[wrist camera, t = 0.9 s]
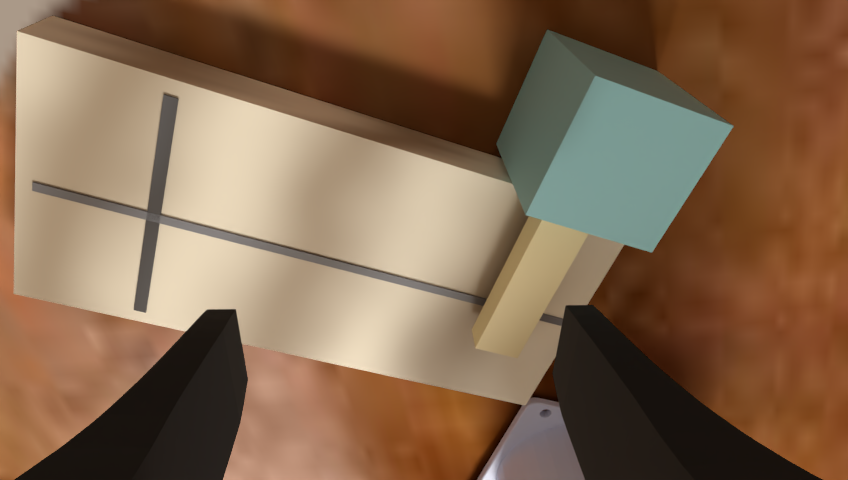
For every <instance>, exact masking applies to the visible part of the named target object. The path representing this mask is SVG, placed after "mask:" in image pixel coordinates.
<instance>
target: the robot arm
mask: <svg viewBox="0 0 848 480" xmlns="http://www.w3.org/2000/svg"><path fill="white" fill-rule="evenodd" d="M553 378H554V383H555V388H556V393H557V397H558V402H555V401H551V400H546V399H542V398H535V397H534V398H530V399H529V401H528V402H527V404H526V405H525V406H524V405H522V407H521V408H520V410H519V412H518V413H517V415H516V416H515V418H514V420H513V421H512V423H511V425H510V426H509V428H508V430H507V431H506V433H505V434H504V436H503V438H502V439H501V441H500V443H499V444H498V446H497V448H496V449H495V451H494V452H493V454H492V456H491V457H490V459H489V461H488V462H487V464H486V466H485V467H484V469H483V470H482V472H481V474H480V475H479V477H478V479H477V480H822V479H820V478H818V477H816V476H815V475H813V474H811V473H809V472H807V471H805V470H804V469H802V468H800V467H798V466H797V465H795V464H793V463H791V462H790V461H788V460H786V459H785V458H783V457H781V456H780V455H778V454H776V453H775V452H773V451H771V450H770V449H768V448H767V447H765V446H763V445H762V444H760V443H758V442H757V441H755V440H754V439H752V438H751V437H749V436H748V435H746V434H744V433H743V432H741V431H740V430H738V429H737V428H736V427H734V426H733V425H731V424H730V423H729V422H727V421H726V420H724V419H723V418H721V417H720V416H719V415H717V414H716V413H714V412H713V411H712V410H710V409H709V408H708V407H706V406H705V405H704V404H702V403H701V402H700V401H698V400H697V399H696V398H695V397H693V396H692V395H691V394H690V393H688V392H687V391H686V390H685V389H684V388H682V387H681V386H680V385H679V384H677V383H676V382H675V381H674V380H673V379H671V378H670V377H669V376H668V375H667V374H666V373H665V372H663V371H662V370H661V369H660V368H659V367H658V366H657V365H655V364H654V363H653V362H652V361H651V360H650V359H649V358H648V357H647V356H646V355H644V354H643V353H642V352H641V351H640V350H639V349H638V348H637V347H636V346H635V345H634V344H633V343H632V342H631V341H630V340H629V339H627V338H626V337H625V336H624V335H623V334H622V333H621V332H620V331H619V330H618V329H617V328H616V327H615V326H614V325H613V324H612V323H611V322H610V321H609V320H608V319H607V318H606V317H605V316H604V315H603V314H602V313H601V312H600V311H599V310H597V309H596V308H595V307H594V306H593V305H566V306H565V311H564V316H563V321H562V327H561V332H560V337H559V342H558V347H557V353H556V358H555V363H554V368H553ZM247 381H248V377H247V372H246V366H245V360H244V354H243V348H242V342H241V336H240V330H239V324H238V319H237V313H236V309H207V310H206V311H205V312H204V313H203V314H202V315H201V316H200V317H199V318H198V319H197V320H196V321H195V322H194V323H193V324H192V325H191V327H190V328H189V329H188V330H187V331H186V332H185V333H184V334H183V335H182V336H181V337H180V339H179V340H178V341H177V342H176V343H175V344H174V345H173V346H172V347H171V348H170V349H169V350H168V351H167V352H166V354H165V355H164V356H163V357H162V358H161V359H160V360H159V361H158V362H157V363H156V364H155V365H154V366H153V367H152V368H151V369H150V370H149V371H148V372H147V373H146V374H145V375H144V376H143V377H142V378H141V379H140V380H139V381H138V382H137V383H136V384H135V385H134V386H133V387H131V388H130V389H129V390H128V391H127V392H126V393H125V394H124V395H123V396H122V397H121V398H120V399H119V400H117V401H116V402H115V403H114V404H113V405H112V406H111V407H110V408H109V409H108V410H107V411H105V412H104V413H103V414H102V415H101V416H100V417H98V418H97V419H96V420H95V421H94V422H93V423H91V424H90V425H89V426H88V427H86V428H85V429H84V430H83V431H81V432H80V433H79V434H77V435H76V436H75V437H74V438H72V439H71V440H70V441H69V442H67V443H66V444H65V445H63V446H62V447H61V448H59V449H58V450H56V451H55V452H54V453H52V454H51V455H49V456H48V457H46V458H45V459H43V460H42V461H41V462H39V463H38V464H36V465H35V466H33V467H32V468H31V469H29V470H28V471H26V472H25V473H23V474H22V475H20V476H19V477H18V478H16V479H15V480H223V477H224V474H225V471H226V467H227V464H228V461H229V458H230V455H231V451H232V448H233V445H234V441H235V438H236V435H237V432H238V428H239V425H240V421H241V416H242V410H243V405H244V399H245V393H246V387H247ZM545 409H547V410H545ZM542 410H545V411H542Z"/></svg>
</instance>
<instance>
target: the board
mask: <svg viewBox="0 0 848 480" xmlns="http://www.w3.org/2000/svg"><path fill="white" fill-rule="evenodd" d="M528 217H529V216H527V215H525V213H524V210H523V208H522V205H521V203H520V201H519V198H518V196H517V193H516V191H515V188H514V186H513V184H512V181H511V179H510V176H509V174H508V172H507V169H506V167H505V164H504V162H503V159H502V158H500V157H496V156H493V155H490V154H487V153H484V152H481V151H478V150H474V149H471V148H468V147H465V146H462V145H459V144H456V143H452V142H449V141H446V140H443V139H440V138H437V137H434V136H430V135H427V134H424V133H421V132H418V131H415V130H411V129H408V128H405V127H402V126H399V125H396V124H393V123H389V122H386V121H383V120H380V119H377V118H374V117H371V116H367V115H364V114H361V113H358V112H355V111H352V110H349V109H345V108H342V107H339V106H336V105H333V104H330V103H327V102H323V101H320V100H317V99H314V98H311V97H308V96H304V95H301V94H298V93H295V92H292V91H289V90H286V89H282V88H279V87H276V86H273V85H270V84H267V83H264V82H260V81H257V80H254V79H251V78H248V77H245V76H242V75H238V74H235V73H232V72H229V71H226V70H223V69H220V68H216V67H213V66H210V65H207V64H204V63H201V62H197V61H194V60H191V59H188V58H185V57H182V56H179V55H175V54H172V53H169V52H166V51H163V50H160V49H157V48H153V47H150V46H147V45H144V44H141V43H138V42H135V41H131V40H128V39H125V38H122V37H119V36H116V35H113V34H109V33H106V32H103V31H100V30H97V29H94V28H90V27H87V26H84V25H81V24H78V23H75V22H72V21H68V20H65V19H62V18H59V17H56V16H50V17H48V18H46V19H44V20H41V21H39V22H37V23H34V24H32V25H30V26H27V27H25V28H23V29H21V30H18V31H17V69H16V152H15V235H14V294H17V295H21V296H26V297H31V298H35V299H40V300H44V301H49V302H53V303H58V304H63V305H67V306H72V307H76V308H81V309H85V310H90V311H95V312H99V313H104V314H108V315H113V316H117V317H122V318H127V319H131V320H136V321H140V322H145V323H149V324H154V325H159V326H163V327H168V328H172V329H177V330H181V331H187V330H188V329H189V328H190V327H191V325H192V324H193V323H194V322H195V321H196V320H197V319H198V318H199V317H200V316H201V315H202V314H203V313H204V312H205V311H206V310H207V309H236V313H237V319H238V324H239V330H240V336H241V342H242V344H245V345H250V346H255V347H259V348H264V349H268V350H273V351H277V352H282V353H287V354H291V355H296V356H300V357H305V358H309V359H314V360H319V361H323V362H328V363H332V364H337V365H342V366H346V367H351V368H355V369H360V370H364V371H369V372H374V373H378V374H383V375H387V376H392V377H396V378H401V379H406V380H410V381H415V382H419V383H424V384H428V385H433V386H438V387H442V388H447V389H451V390H456V391H460V392H465V393H470V394H474V395H479V396H483V397H488V398H492V399H497V400H502V401H506V402H511V403H515V404H520V405H524V406H525V405H526V404H527V402H528V401H529V399H530V397H531V396H532V394H533V392H534V391H535V389H536V388H537V386H538V384H539V383H540V381H541V379H542V378H543V376H544V375H545V373H546V371H547V370H548V368H549V366H550V365H551V363H552V362H553V360H554V358H555V357H556V353H557V347H558V342H559V337H560V332H561V327H562V321H563V316H564V311H565V306H566V305H588V303H589V301H590V300H591V298H592V296H593V295H594V293H595V292H596V290H597V288H598V287H599V285H600V283H601V282H602V280H603V279H604V277H605V275H606V274H607V272H608V270H609V269H610V267H611V266H612V264H613V262H614V261H615V259H616V257H617V256H618V254H619V253H620V251H621V249H622V248H623V246H624V244H621V243H618V242H614V241H611V240H608V239H604V238H601V237H598V236H594V235H591V234H588V236H587V238H586V239H585V241H584V243H583V245H582V246H581V248H580V250H579V252H578V253H577V255H576V257H575V259H574V260H573V262H572V264H571V266H570V267H569V269H568V271H567V273H566V274H565V276H564V278H563V280H562V281H561V283H560V285H559V287H558V288H557V290H556V292H555V294H554V295H553V297H552V299H551V301H550V302H549V304H548V306H547V308H546V309H545V311H544V313H543V315H542V316H541V318H540V320H539V322H538V323H537V325H536V327H535V329H534V330H533V332H532V334H531V336H530V337H529V339H528V341H527V343H526V344H525V346H524V348H523V350H522V351H521V353H520V355H519V356H518V358H514V357H510V356H506V355H501V354H497V353H493V352H489V351H485V350H480V349H476V348H475V344H474V339H473V333H472V328H473V326H474V324H475V322H476V320H477V318H478V316H479V314H480V312H481V310H482V308H483V306H484V304H485V302H486V300H487V298H488V296H489V294H490V292H491V290H492V288H493V286H494V284H495V282H496V280H497V278H498V276H499V274H500V273H501V271H502V269H503V267H504V265H505V263H506V261H507V259H508V257H509V255H510V253H511V251H512V249H513V247H514V245H515V243H516V241H517V239H518V237H519V235H520V233H521V231H522V229H523V227H524V225H525V223H526V221H527V219H528Z"/></svg>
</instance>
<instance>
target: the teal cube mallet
mask: <svg viewBox="0 0 848 480" xmlns="http://www.w3.org/2000/svg"><path fill="white" fill-rule="evenodd" d="M732 128H733V125H731V124H730V123H729V122H727V121H726V120H725V119H723V118H722V117H720V116H719V115H718V114H716V113H715V112H714V111H712V110H711V109H709V108H708V107H707V106H705V105H704V104H702V103H701V102H700V101H698V100H697V99H696V98H694V97H693V96H691V95H690V94H689V93H687V92H686V91H684V90H683V89H682V88H680V87H679V86H678V85H676V84H675V83H673V82H672V81H671V80H669V79H668V78H667V77H665V76H664V75H662V74H661V73H660V72H658V71H656V70H654V69H651V68H648V67H646V66H643V65H640V64H638V63H635V62H632V61H630V60H627V59H625V58H622V57H619V56H617V55H614V54H611V53H609V52H606V51H603V50H601V49H598V48H595V47H593V46H590V45H587V44H585V43H582V42H580V41H577V40H574V39H572V38H569V37H566V36H564V35H561V34H558V33H556V32H553V31H550V30H548V29H547V31H546V33H545V35H544V37H543V40H542V42H541V44H540V46H539V49H538V51H537V53H536V55H535V58H534V60H533V62H532V64H531V67H530V69H529V71H528V73H527V76H526V78H525V80H524V83H523V85H522V87H521V89H520V92H519V94H518V96H517V98H516V101H515V103H514V105H513V107H512V110H511V112H510V114H509V116H508V119H507V121H506V123H505V125H504V128H503V130H502V132H501V134H500V137H499V139H498V141H497V143H496V145H497V147H498V150H499V152H500V155H501V157H502V159H503V162H504V164H505V167H506V169H507V172H508V174H509V176H510V179H511V181H512V184H513V186H514V188H515V191H516V193H517V196H518V198H519V201H520V203H521V205H522V208H523V210H524V213H525V215H527V216H529V217H528V219H527V221H526V223H525V225H524V227H523V229H522V231H521V233H520V235H519V237H518V239H517V241H516V243H515V245H514V247H513V249H512V251H511V253H510V255H509V257H508V259H507V261H506V263H505V265H504V267H503V269H502V271H501V273H500V274H499V276H498V278H497V280H496V282H495V284H494V286H493V288H492V290H491V292H490V294H489V296H488V298H487V300H486V302H485V304H484V306H483V308H482V310H481V312H480V314H479V316H478V318H477V320H476V322H475V324H474V326H473V328H472V333H473V339H474V344H475V348H476V349H480V350H485V351H489V352H493V353H497V354H501V355H506V356H510V357H514V358H518V356H519V355H520V353H521V351H522V350H523V348H524V346H525V344H526V343H527V341H528V339H529V337H530V336H531V334H532V332H533V330H534V329H535V327H536V325H537V323H538V322H539V320H540V318H541V316H542V315H543V313H544V311H545V309H546V308H547V306H548V304H549V302H550V301H551V299H552V297H553V295H554V294H555V292H556V290H557V288H558V287H559V285H560V283H561V281H562V280H563V278H564V276H565V274H566V273H567V271H568V269H569V267H570V266H571V264H572V262H573V260H574V259H575V257H576V255H577V253H578V252H579V250H580V248H581V246H582V245H583V243H584V241H585V239H586V238H587V236H588V234H591V235H594V236H598V237H601V238H604V239H608V240H611V241H614V242H618V243H621V244H624V245H628V246H631V247H635V248H638V249H641V250H645V251H648V252H651V253H652V252H653V250H654V249H655V247H656V246H657V244H658V242H659V241H660V239H661V238H662V236H663V235H664V233H665V232H666V230H667V229H668V227H669V225H670V224H671V222H672V221H673V219H674V218H675V216H676V215H677V213H678V212H679V210H680V208H681V207H682V205H683V204H684V202H685V201H686V199H687V198H688V196H689V194H690V193H691V191H692V190H693V188H694V187H695V185H696V184H697V182H698V181H699V179H700V177H701V176H702V174H703V173H704V171H705V170H706V168H707V167H708V165H709V164H710V162H711V160H712V159H713V157H714V156H715V154H716V153H717V151H718V150H719V148H720V146H721V145H722V143H723V142H724V140H725V139H726V137H727V136H728V134H729V133H730V131H731V129H732Z"/></svg>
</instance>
